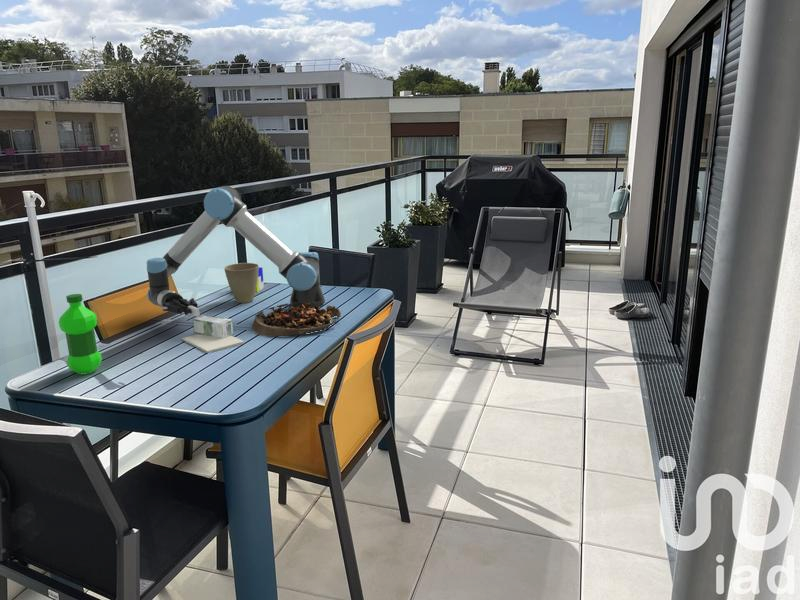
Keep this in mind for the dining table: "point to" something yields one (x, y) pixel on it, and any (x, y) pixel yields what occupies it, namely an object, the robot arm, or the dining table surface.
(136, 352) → the dining table surface
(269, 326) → the food dish
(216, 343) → the mat
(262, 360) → the dining table surface
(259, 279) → the puzzle toy
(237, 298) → the plant pot
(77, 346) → the plastic bottle
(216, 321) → the syrup box
